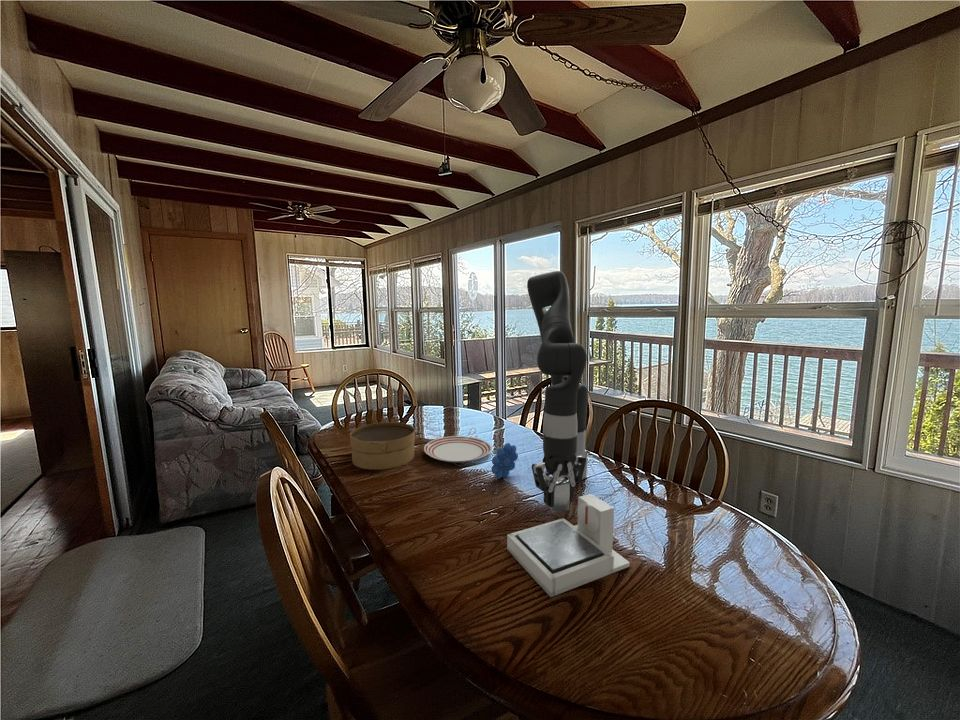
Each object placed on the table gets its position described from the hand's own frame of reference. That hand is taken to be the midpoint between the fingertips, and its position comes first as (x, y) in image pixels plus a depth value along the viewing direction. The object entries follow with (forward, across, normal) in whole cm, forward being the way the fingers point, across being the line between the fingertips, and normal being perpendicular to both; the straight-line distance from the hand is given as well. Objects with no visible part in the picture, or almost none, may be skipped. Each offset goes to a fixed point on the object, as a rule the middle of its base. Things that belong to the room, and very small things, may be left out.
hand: (558, 502), depth 91 cm
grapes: (+15, -12, -47) cm, 50 cm away
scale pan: (+11, 0, 0) cm, 11 cm away
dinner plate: (+15, -5, -74) cm, 76 cm away
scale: (+14, -2, 0) cm, 15 cm away
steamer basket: (+15, +22, -84) cm, 88 cm away
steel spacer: (+1, 0, 0) cm, 1 cm away
